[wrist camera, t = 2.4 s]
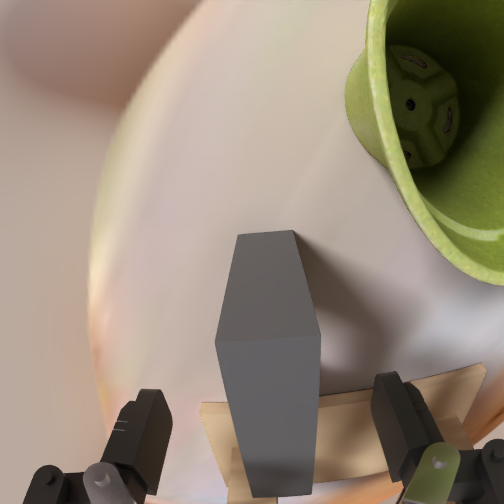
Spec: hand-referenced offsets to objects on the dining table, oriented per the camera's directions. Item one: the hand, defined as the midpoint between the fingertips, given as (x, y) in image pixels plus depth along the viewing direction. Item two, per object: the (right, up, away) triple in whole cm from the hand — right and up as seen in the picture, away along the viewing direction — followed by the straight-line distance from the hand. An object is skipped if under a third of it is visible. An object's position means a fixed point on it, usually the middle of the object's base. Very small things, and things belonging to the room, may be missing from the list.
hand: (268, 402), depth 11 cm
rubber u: (0, +2, +6) cm, 6 cm away
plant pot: (+6, +12, +2) cm, 14 cm away
